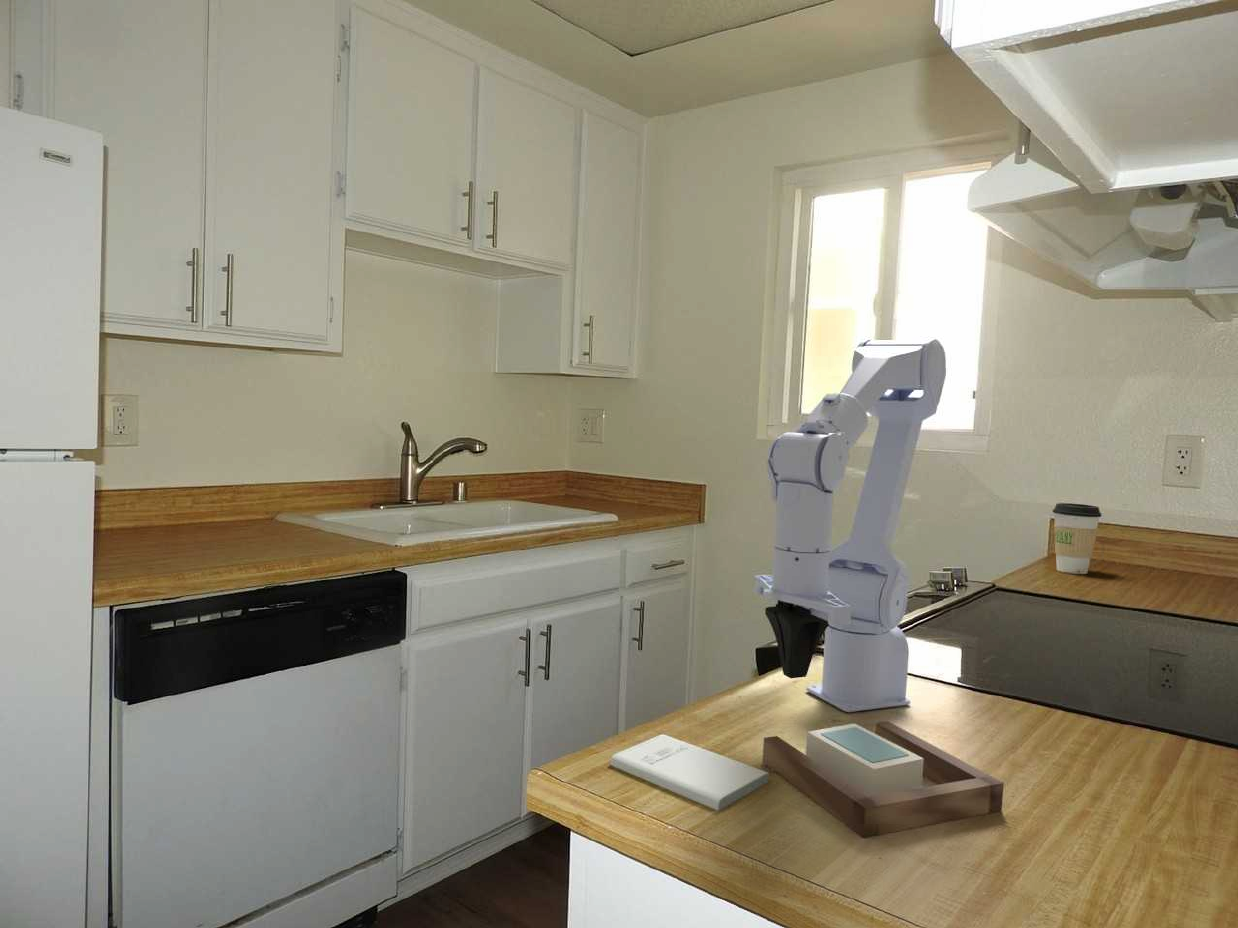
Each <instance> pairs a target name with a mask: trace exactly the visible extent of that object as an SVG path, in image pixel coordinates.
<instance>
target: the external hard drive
mask: <svg viewBox="0 0 1238 928" xmlns="http://www.w3.org/2000/svg"><path fill="white" fill-rule="evenodd" d="M610 766H611V767H613V768H615V769H618V770H621V771H623V772H625V773H629V774H630V775H632V776H635V777H638V778H639V779H643V780H645V781H647V782H649V783H651V784H654V785H656V786H659V787H661V788H663V789H666V790H668V791H671V792H673V793H675V794H678V795H680V796H683V797H685V798H687V799H689V800H691V801H695V802H697V803H699V804H701V805H704V806H706V807H708V808H711V809H713V810H716V811H720V810H722V809H723V808H726V807H727V806H728V805H730V804H732V803H734V802H735V801H738V800H739V799H741V798H743V797H745V796H747V795H748V794H750V793H752V792H753V791H756V790H757V789H759V788H760V787H759V786H761V787H762V786H764V785H766V784H767V783H766V782H768V783H769V782H770V773H769V772H768V771H765V770H762V769H759V768H756V767H755V766H751V765H748V764H745V763H743V762H740V761H737V760H735V759H732V758H730V757H727V756H724V755H720V754H718V753H715V752H714V751H713V752H712V751H710V750H708V749H704V748H701V747H699V746H696V745H694V744H690V743H688V742H686V741H682V740H680V739H677V738H674V737H672V736H669V735H666V734H659V735H657V736H655V737H652V738H650V739H647V740H645V741H642V742H640V743H638V744H636V745H634V746H631V747H629V748H627V749H623V750H621V751H618V752H616V753H615V754H613V755H612V756H611V757H610ZM765 783H766V784H765ZM763 784H764V785H763ZM758 787H759V788H758ZM756 788H757V789H756Z"/></svg>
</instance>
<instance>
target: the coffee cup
mask: <svg viewBox="0 0 1238 928" xmlns="http://www.w3.org/2000/svg"><path fill="white" fill-rule="evenodd" d="M1052 513H1053V515H1054V524H1053V530H1054V545H1055V546H1054V550H1055V560H1056V561H1055V562H1056V570H1057V571H1059V572H1063V573H1065V574H1066V573H1068V574H1075V575H1086V574H1088V572H1089V567H1090V563H1091V558H1092V556H1093V552H1094V548H1095V542H1096V538H1097V533H1098V525H1099V520H1100V518H1101V517H1102V513H1101V512H1100V507H1099V506H1096V505H1090V504H1084V503H1083V504H1081V503H1069V502H1068V503H1067V502H1064V503H1063V502H1062V503H1061V502H1058V503H1056V504H1055V507H1054V508H1053V509H1052Z"/></svg>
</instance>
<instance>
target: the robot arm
mask: <svg viewBox="0 0 1238 928" xmlns="http://www.w3.org/2000/svg"><path fill="white" fill-rule="evenodd" d="M852 356H853V357H852V362H851V364H852V365H851V370H852V371H851V372H852V373H851V375H850V376H849V378H848V379H847V381H846V382H845V384H844V386H842V389H841V390H840V392H833V393H826V394H825V396H823V398H822V399H821V401H820V402H819V403H818V404H817V405H816V407H814V409H813V410H812V411H811V412H810V413H809V414H808V415H807V417H806V418H805V419H804V421H803V422H802V423H801V424H800V425H799V426H798V427H797V429H796V430H795V431H794V432H793V431H792V432H788V431H787V432H785V433H782V434H781V436H779V437H777V438H776V439H774V441H773V442H772V444H771V446H770V450H769V453H768V458H767V459H766V470H767V475H768V479H769V480H770V484H771V485H770V486H771V494H770V495H771V499H772V502H774V503H775V504H776V505H775V520H774V521H775V524H774V539H773V540H774V543H773V560H772V563H773V564H772V575H771V574H763V575H761V574H760V575H759V574H758V575H754V579H753V580H754V583H753V593H755V594H756V595H762V596H763V598H766V599H768V600H770V601H777V603H775V606H768V607H765V608H764V609H765V610H764V611H765V613H764V614H765V616H766V617H767V619H768V621H769V623H770V625H771V628H772V631H773V634H774V636H775V640H776V644H777V648H778V653H779V658H780V664H781V669H782V673H783V674H782V675H784V676H785V677H787V678H789V679H798V678H806V677H807V675H808V673H809V669H810V666H811V663H812V659H813V657H814V655H815V650H816V649H817V646H818V644H819V642H820V640H821V638H822V637H823V635H824V634H825V635H824V645H823V646H824V648H823V662H822V663H823V664H822V665H823V666H822V679H821V680H822V682H821V684H815V685H808V686H806V689H805V690H806V691H807V692H809V693H810V694H813V695H814V696H816V697H818V698H819V699H821V700H823V701H825V702H827V703H829V704H830V705H832V706H834V707H836V708H838V709H840V710H841V711H843V712H845V713H852V712H853V713H854V712H859V711H868V710H877V709H883V708H891V707H899V706H900V707H901V706H907V705H910V704H911V700H910V699H909V698H907V684H908V683H907V682H908V671H909V670H908V669H909V655H910V652H909V651H910V650H909V644H908V640H907V638H906V634H905V633H904V632H903V630H902V629H901V628H900V627H898V626H899V625H900V624H901V622H902V621H903V619H904V617H905V613H906V610H907V606H908V587H909V579H910V574H909V571H908V567H907V566H906V565H905V563H904V562H903V561H902V559H900V558H899V557H898V556H897V555H896V553H895V552H893V550H892V545H893V542H894V537H895V533H896V530H897V529H896V528H897V525H898V520H899V517H900V514H901V509H902V504H903V500H904V498H905V493H906V488H907V485H908V481H909V476H910V472H911V470H912V469H911V468H912V464H913V460H914V455H915V452H916V448H917V444H918V440H919V436H920V432H921V429H922V424H923V421H925V420H927V419H928V418H930V417H932V416H935V415H936V413H937V409H938V405H940V401H941V397H942V393H943V389H944V384H945V380H946V376H947V367H946V364H947V362H946V352H945V348H944V347H943V345H942V344H941V342H940V341H939V340H938V339H936V338H930V339H928V340H926V339H925V340H923V339H922V340H920V339H919V340H918V339H917V340H910V339H909V340H872V339H863V340H862V341H860V343H859V344H858V346H857V347H856V348H855V349H854V351H853V355H852ZM868 414H870V415H872V417H875V418H876V419H877V420H878V426H877V431H876V435H875V439H874V442H873V445H872V448H871V453H870V458H869V461H868V465H867V468H866V473H865V475H864V477H865V478H864V480H863V485H862V489H861V492H860V496H859V499H858V503H857V508H856V511H855V515H854V519H853V523H852V527H851V530H850V534H849V537H848V539H847V540H845V541H843V542H841V543H839V544H837V545H835V546H833V547H832V548H831V541H832V540H831V538H832V523H833V504H834V503H833V502H834V491H835V490H837V489H838V488H839V487H840V486H841V485H842V482H843V480H844V477H845V473H846V468H847V465H848V463H849V462H850V461H849V460H850V456H851V455H850V451H851V449H853V447H854V445H855V444H856V443H857V442H858V440H860V438H861V436H862V435H863V434H864V433H865V431H866V430H867V428H868V425H869V424H868V422H869V419H868V418H869V417H868Z"/></svg>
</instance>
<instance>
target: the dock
mask: <svg viewBox="0 0 1238 928" xmlns="http://www.w3.org/2000/svg"><path fill="white" fill-rule="evenodd" d="M874 733H875V734H876V735H878V736H880V737H882V738H884V739H886V740H888V741H890V742H892V743H894V744H896V745H898V746H900V747H902V748H904V749H906V750H908V751H910V752H912V753H914V754H916V755H918V756H920V757H922V758H924V762H923V777H926V778H928V779H929V780H932V782H935V783H937V784H936V785H931V786H924V787H923V786H922V788H918V789H912V790H906V791H900V792H895V793H889V794H883V795H878V796H872V797H867V796H866V795H864V794H863V793H861V792H860V791H858V790H857V789H855V788H854V787H852V786H851V785H849V784H848V783H846V782H845V781H843V780H842V779H840V778H839V777H837V776H836V775H834V774H833V773H831V772H830V771H828V770H827V769H825V768H824V767H822V766H821V765H820V764H818V763H817V762H815V761H814V760H812V759H811V758H809V757H808V756H806V753H805V754H804V753H803V752H802V751H800V750H799V749H797V748H795V746H793V745H791V744H790V743H789V742H786V741H785V740H784V739H782V738H781V737H779V736H777V735H775V736H767V737H766V736H765V737H763V747H762V764H763V763H764V764H763V765H764V766H766V765H767V766H768V768H769V767H770V768H771V769H773V770H774V771H775V772H777V773H778V774H779V775H780V777H781V776H782V777H783V778H784V779H783V778H782V777H781V778H782V779H783V780H785V781H786V780H787V781H786V782H788V783H789V784H790V783H791V784H790V785H791V786H793V787H794V788H795V789H797V790H798V791H799V792H801V793H802V794H804V795H805V796H807V798H809V799H810V798H811V799H810V800H812V801H813V802H814V803H816V804H817V805H818V806H819V807H821V808H822V809H824V810H825V811H826V812H828V813H829V814H831V815H832V816H834V817H835V818H836V819H838V821H840V822H841V823H843V824H844V825H845V826H847V827H848V828H849V829H850V830H852V832H855V833H856V834H857V835H859V836H860V837H862V838H863V839H866V838H871V837H876V836H879V835H885V834H890V833H895V832H901V831H905V830H910V829H915V828H920V827H925V826H930V825H934V824H940V823H941V824H942V823H946V822H951V821H956V820H961V819H966V818H971V817H976V816H981V815H985V814H991V813H997V812H1001V811H1003V810H1002V808H1003V797H1004V785H1005V784H1004V783H1005V782H1003V781H1001V780H999V779H997V778H995V777H994V776H991V775H990V774H988V773H986V772H984V771H982V770H980V769H979V768H977V767H975V766H973V765H971V764H970V763H967V762H966V761H964V760H961V759H960V758H957V757H956V756H954V755H952V754H950V753H949V752H947V751H945V750H943V749H941V748H940V747H937V746H935V745H934V744H931V743H930V742H927V740H924V739H923V738H920V737H918V736H916V735H915V734H913V733H910V732H909V731H907V730H905V729H904V728H901V727H900V726H898V725H896V724H894V723H892V722H890V721H880V722H875V732H874ZM767 766H766V767H767ZM770 768H769V769H770ZM771 769H770V770H771ZM773 770H772V771H773ZM774 771H773V772H774ZM775 772H774V773H775ZM777 773H776V774H777ZM778 774H777V775H778ZM779 775H778V776H779Z"/></svg>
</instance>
